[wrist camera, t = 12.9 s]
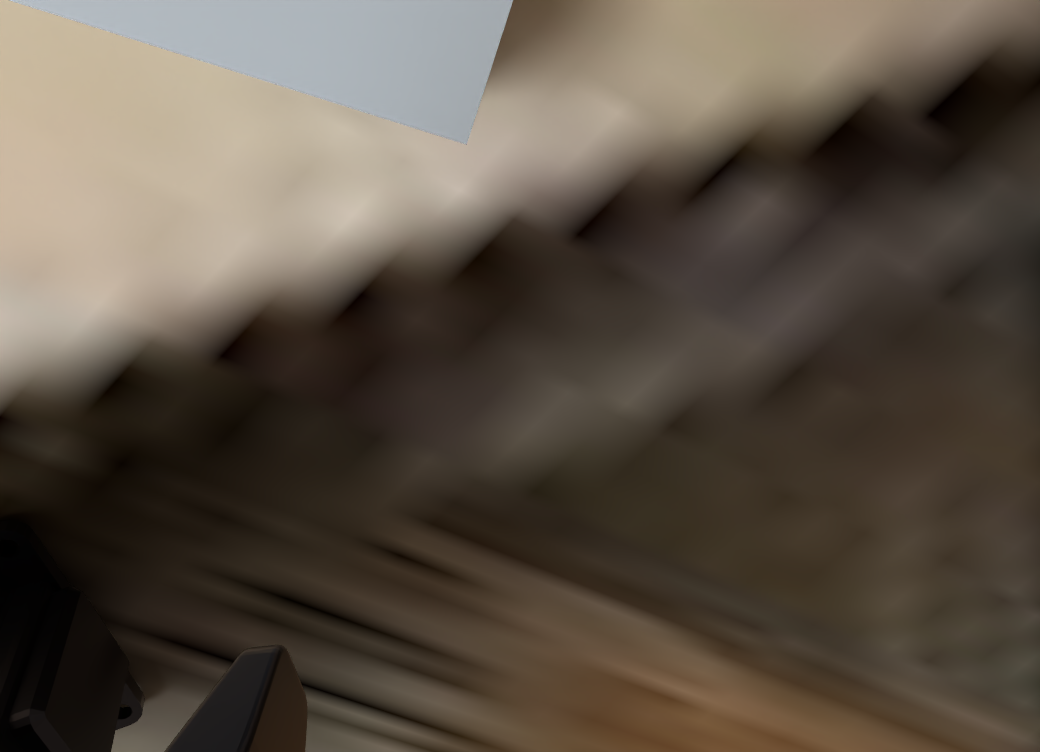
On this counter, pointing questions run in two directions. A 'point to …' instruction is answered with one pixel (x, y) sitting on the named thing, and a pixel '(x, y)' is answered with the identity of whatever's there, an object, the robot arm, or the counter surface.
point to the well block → (329, 48)
